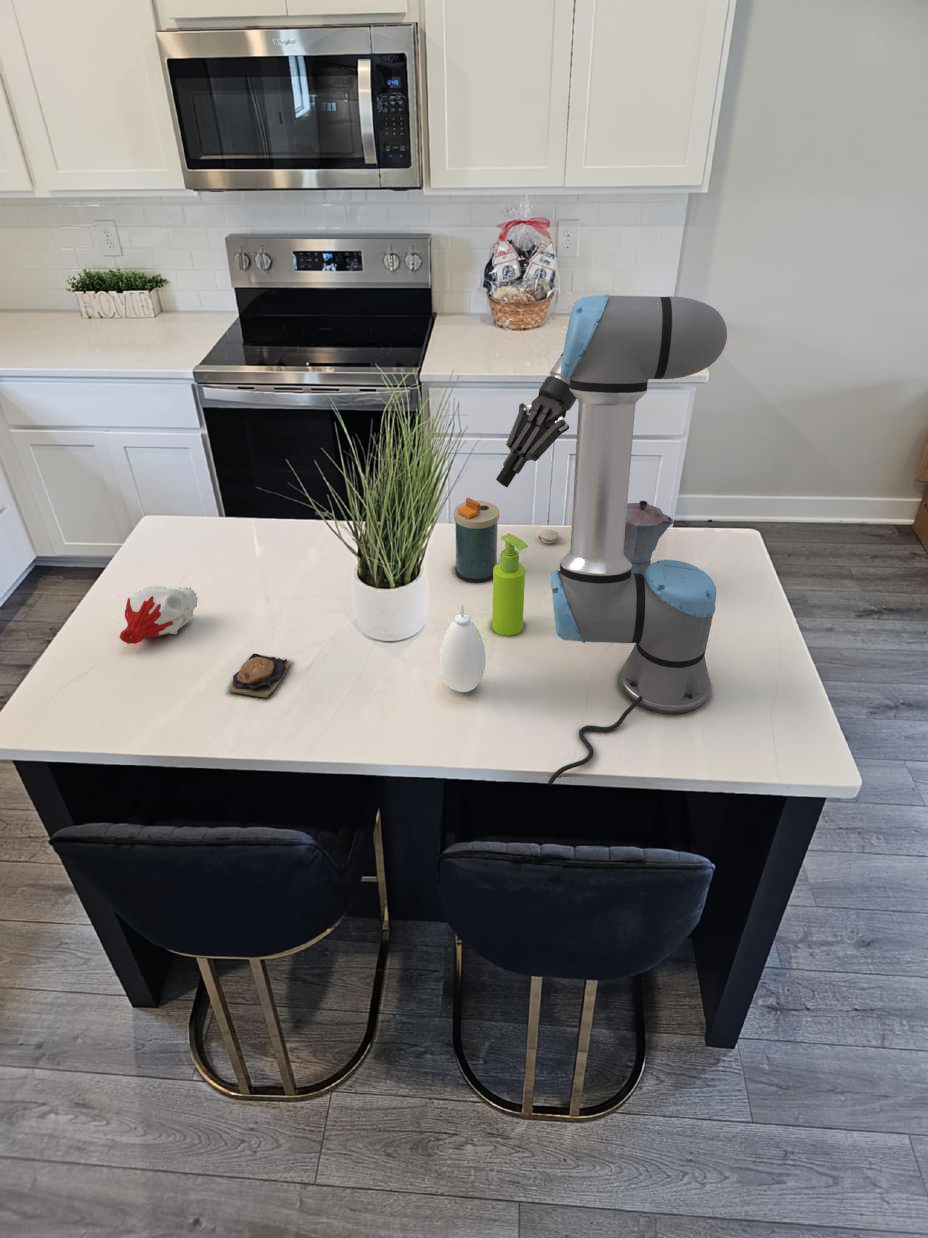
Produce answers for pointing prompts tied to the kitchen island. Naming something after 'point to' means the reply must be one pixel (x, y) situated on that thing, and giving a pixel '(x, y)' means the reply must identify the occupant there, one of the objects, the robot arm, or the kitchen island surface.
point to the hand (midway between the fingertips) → (501, 483)
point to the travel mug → (476, 543)
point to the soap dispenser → (509, 588)
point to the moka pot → (643, 533)
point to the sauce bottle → (462, 654)
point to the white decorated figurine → (157, 612)
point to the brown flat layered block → (259, 676)
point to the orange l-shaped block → (470, 508)
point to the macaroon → (548, 536)
